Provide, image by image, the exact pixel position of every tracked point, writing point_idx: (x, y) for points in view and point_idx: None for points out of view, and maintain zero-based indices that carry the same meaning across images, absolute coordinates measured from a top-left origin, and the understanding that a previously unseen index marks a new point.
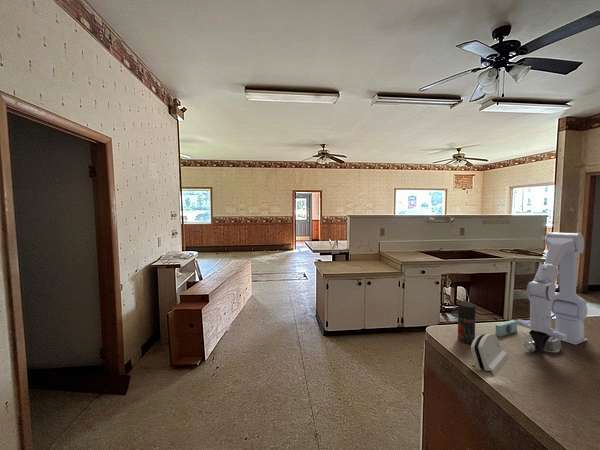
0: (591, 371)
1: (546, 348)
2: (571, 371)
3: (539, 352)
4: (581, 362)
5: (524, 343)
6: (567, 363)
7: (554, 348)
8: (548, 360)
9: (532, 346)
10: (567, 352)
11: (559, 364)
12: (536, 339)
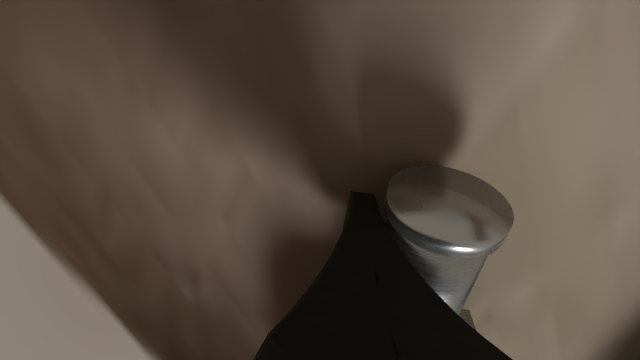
0: (34, 217)
1: None
2: (45, 85)
3: (350, 195)
4: (152, 292)
5: (512, 215)
6: (167, 211)
7: None
8: (258, 140)
9: (416, 205)
10: None
11: (173, 140)
12: (381, 299)
